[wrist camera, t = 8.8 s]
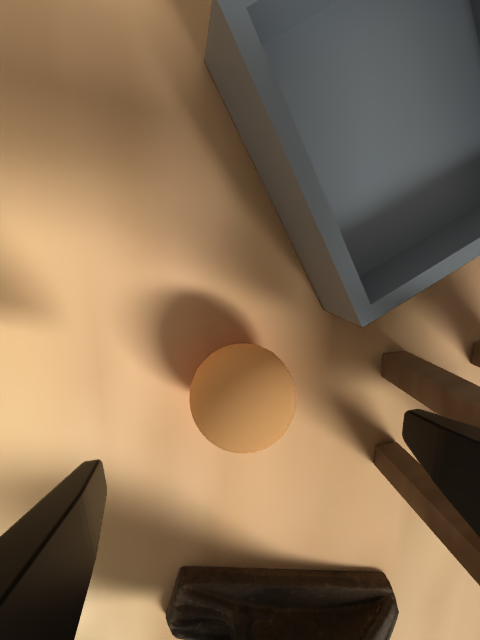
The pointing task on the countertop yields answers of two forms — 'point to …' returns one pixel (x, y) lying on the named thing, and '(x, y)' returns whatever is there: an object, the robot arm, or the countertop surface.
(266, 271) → the countertop surface
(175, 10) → the countertop surface
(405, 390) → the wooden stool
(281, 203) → the tray
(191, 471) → the countertop surface
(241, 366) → the ball
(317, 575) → the sculpture
